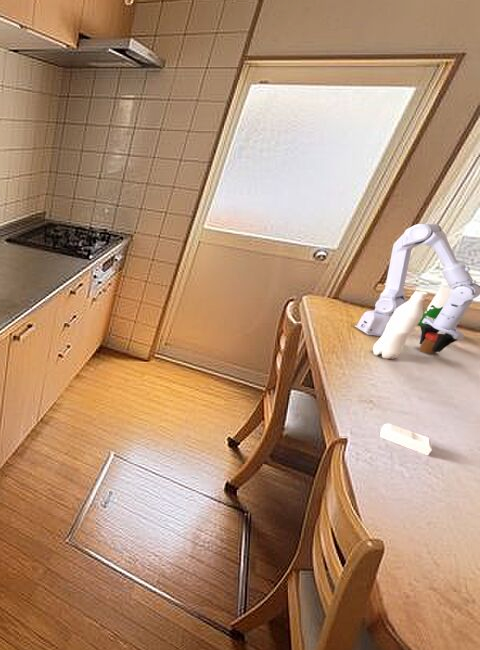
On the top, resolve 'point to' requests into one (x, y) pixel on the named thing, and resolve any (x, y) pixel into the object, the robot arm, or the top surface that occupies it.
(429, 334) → the lid
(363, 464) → the top surface
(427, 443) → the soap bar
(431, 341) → the jar
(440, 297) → the milk carton
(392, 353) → the water bottle
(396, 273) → the robot arm
